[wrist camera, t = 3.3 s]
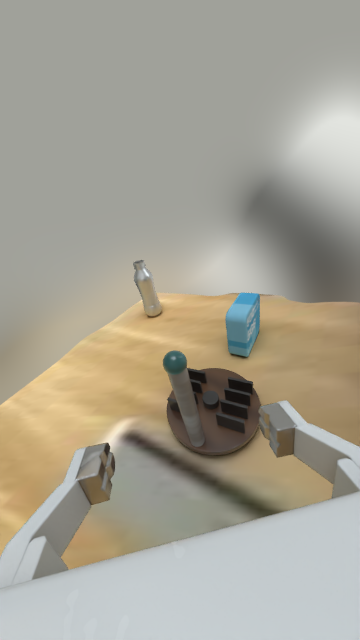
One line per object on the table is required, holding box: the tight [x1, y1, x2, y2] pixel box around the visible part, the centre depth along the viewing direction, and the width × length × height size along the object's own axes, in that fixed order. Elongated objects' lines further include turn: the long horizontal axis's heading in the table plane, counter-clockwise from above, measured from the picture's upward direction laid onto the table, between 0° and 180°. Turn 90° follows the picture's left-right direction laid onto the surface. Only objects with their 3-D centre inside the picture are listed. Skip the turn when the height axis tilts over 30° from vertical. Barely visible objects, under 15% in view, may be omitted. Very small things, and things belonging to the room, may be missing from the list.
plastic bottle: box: [133, 260, 162, 316], centre depth 71 cm, size 6×7×20 cm
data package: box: [226, 293, 260, 357], centre depth 50 cm, size 12×4×12 cm, turn 148°
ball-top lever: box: [163, 351, 260, 455], centre depth 33 cm, size 17×17×19 cm
